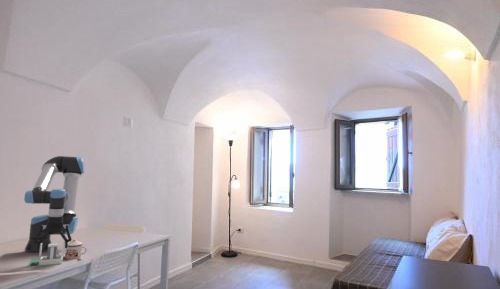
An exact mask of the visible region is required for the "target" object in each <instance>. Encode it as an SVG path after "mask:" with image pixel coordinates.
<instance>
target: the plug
mask: <svg viewBox="0 0 500 289" xmlns="http://www.w3.org/2000/svg"><path fill="white" fill-rule="evenodd" d="M58 245H59V243H51V244H49V245H48V251H46V252H47V254H46V256H47V259H56V257H57V254H58Z"/></svg>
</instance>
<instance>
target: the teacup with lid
mask: <svg viewBox="0 0 500 289" xmlns="http://www.w3.org/2000/svg"><path fill="white" fill-rule="evenodd" d="M82 248H84V249H85V250H84V252H82V250H83V249H82ZM87 249H88V248H87V247H86V246H83V242H82V241H78V240H77V239H76V238H74V239H72V240H71V241H69V242H68V245H67V248H65V253H64V258H65V259H68V260H69V259H72V260H73V259H74V260H75V259H76V260H80V259H81V258H82V255H85V254H86V253H87V251H88V250H87Z"/></svg>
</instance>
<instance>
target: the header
mask: <svg viewBox="0 0 500 289" xmlns="http://www.w3.org/2000/svg"><path fill="white" fill-rule="evenodd" d="M39 258H40V260H39V265H49V264H63V261H64V254H61V255H59V256H57V257H56V259H47V255H46V256H40V257H39Z"/></svg>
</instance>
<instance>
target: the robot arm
mask: <svg viewBox="0 0 500 289" xmlns="http://www.w3.org/2000/svg"><path fill="white" fill-rule="evenodd" d="M58 173H62V176H63V177H64V179H63V180H64V181H63V188H53V189H51V190H49V188H50V186H51V184H52V181H53V179H54V176H55V175H57V174H58ZM84 173H85V161H84V157H82V156H81V157H79V156H67V155H66V156H63V155H62V156H61V155H57V156H54V157H52V158H50V159H48V160H47V161H45V162H44V164H42V167H41V172H40V174H39V176H38V178H37V181H36V182H35V184H34V186H33V188H32V189H31V190H26V192H25V193H24V198H23V199H24V203H25V204H45V205H46V204H49V207H48V214H41V215H39V214H38V215H35V216H33V217H31V219H30V224H29V225H30V228H29V237H28V241H27V243H26V245H25V248H24V253H38V256H39V257H42V253H44V252H48V245H49V244H52V241H51V235H52V236H53V235H54V236H55V235H56V236H58V235H59V236H61V238H62V239H63V241H64V242H63V246H62V248H63V250H62V255H65V251H66V248H67V245H68V243H69V242H71V241H73V239H72V236H71V235H73V234H74V233H75V232H76V229H77V226H78V221H79V216H77V213H76V212H75V206H76V199H77V192H78V185H79V179H80V178H81V177H82V174H84ZM66 236H67V237H66Z"/></svg>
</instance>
